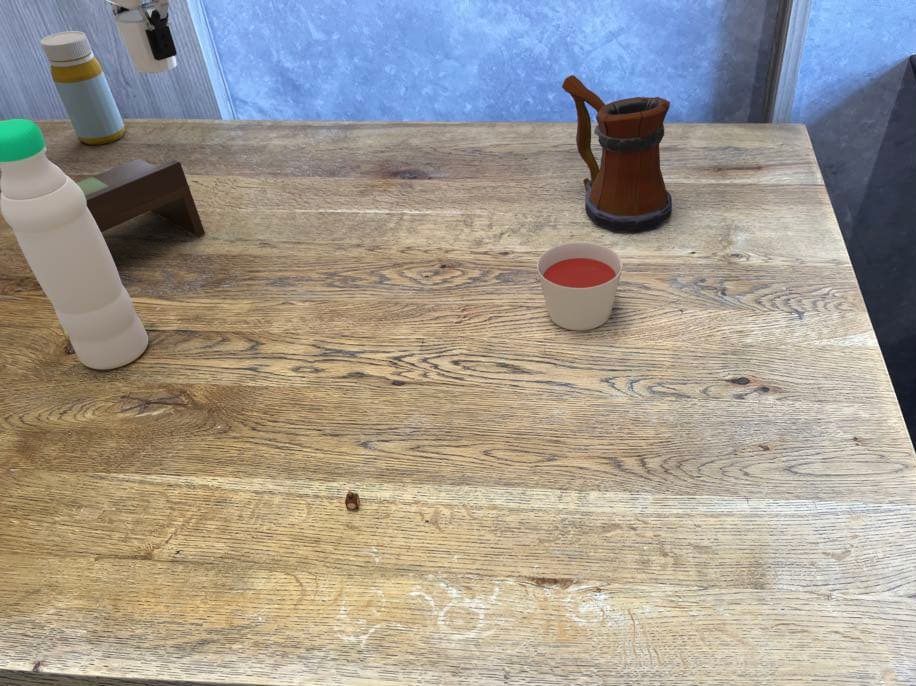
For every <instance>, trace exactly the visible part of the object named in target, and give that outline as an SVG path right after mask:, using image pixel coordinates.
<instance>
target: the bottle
mask: <svg viewBox="0 0 916 686" xmlns="http://www.w3.org/2000/svg"><path fill="white" fill-rule="evenodd" d="M40 45H41V47H42V50H43V52H44V54H45V57H46V58H47V61H48V63H49V65H50V75H51V78H52V81H53V83H54V85H55V88H56V90H57V93H58V94H59V98H60V100H61V102H62V105H63V106H64V109H65V112H66V113H67V116H68V118H69V120H70V123H71V125H72V127H73V129H74V132H75V134H76V136H77V138H78V140H79V141H81V142H82V143H84V144H86V145H90V146H100V145H106V144H109V143H113V142H115V141H117V140H119V139H121V138H122V137H123V136H124V133H125V131H126V127H125V124H124V122H123V119H122V116H121V113H120V111H119V108H118V106H117V104H116V101H115V98H114V96H113V93H112V90H111V88H110V85H109V82H108V80H107V77H106V74H105V73H104V70H103V68H102V65H101V64H100V62H99V61H98V60H97V58H95V55H94V52H93V50H92V47H91V44H90V41H89V40H88V37H87V35H86V33H84V32H83V31H78V30H69V31H61V32H57V33H52V34H49V35H47V36H45V37H43V38H42V39H41V40H40Z"/></svg>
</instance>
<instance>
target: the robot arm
mask: <svg viewBox="0 0 916 686" xmlns="http://www.w3.org/2000/svg"><path fill="white" fill-rule="evenodd" d="M105 1H106V2H108V3H109V4H110V5H111V9H112V10H111V11H112V14H113V17H115V16H116V15H117V14H119V13H122V12H124V11H128V10H136V9H138V10H139V12H140V14H141V16H142V18H143V20H144V22H145V24H146V26H147V28H148V29H147V30H145V32H146V35H147V38H148V41H149V44H150V47H151V51H152V54H153V57H154V59H155V60H158V61H159V60H162V59H166V58H169V57H172V56H175V57H176V56H177V49H176V46H175V42H174V39H173V35H172V32H171V29H170V24H171V23H170V19H169V7H170V2H169V0H149V2H144V0H105ZM152 8H155V10H153V11H152V14H151V18H150V16H149V14H148V12H147V10H148V9H152Z"/></svg>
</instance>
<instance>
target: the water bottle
mask: <svg viewBox="0 0 916 686" xmlns="http://www.w3.org/2000/svg"><path fill="white" fill-rule="evenodd" d="M47 149H48V148H47V146H46V140H45V137H44V135H43V133H42V130H41V129H40V127H39V125H38V124H36V123H35V122H34V121H33V120H30V119H25V118H12V119H8V120H7V119H5V120H0V171H1V176H0V191H1V192H0V211H1V215H2V217H3V219H4V220H5V222H6V223H7V225H9V226H10V227H11V228H12V230H13V233H14V236H15V238H16V240H17V241H16V242H17V243H18V245H19V247H20V250H21V251H22V254H23V256H24V257H25V260H26V262H27V263H28V265H29V267H30V269H31V271H32V273H33V275H34V277H35V279H36V280H37V282H38V284H39V286H40V287H41V289H42V290H43V291H42V292H44V294H45V296H46V298H47V299H48V300H49V301H50V303H51V305H52V306H53V308H54V312H55V315H56V318H57V320H58V322H59V324H60V325H61V327H62V329H63V330H64V331H65V333H66V334H67V335H68V337H69V340H70V343H71V346H72V348H73V351H74V352H75V354H76V356H77V358H78V360H79V361H80V363H82V365H84V366H85V367H87V368H90V369H94V370H101V371H102V370H113V369H117V368H118V369H119V368H121V367H123V366H126V365H128V364H130V363H133V362H134V361H136V360H137V359H138V358H139V357H140V356H141V355H142V354H143V353H145V351H146V350H147V347H148V344H149V336H148V335H149V334H148V332H147V331H146V328H145V326H144V324H143V322H142V320H141V319H140V317H139V316H138V314H137V313H136V310H135V306H134V302H133V300H132V298H131V296H130V294H129V292H128V290H127V288H125V286H124V285H123V284H122V283H123V282H122V280H121V277H120V274H119V271H118V268H117V265H116V263H115V260H114V258H113V256H112V254H111V252H110V249H109V247H108V244H107V242H106V241H105V238H104V235H103V233H102V232H100V230H99V227H98V226H97V224H96V222H95V220H94V218H93V216H92V214H91V213H90V211H89V209H88V208H87V202H86V198H85V195H84V193H83V191H82V190H81V188H80V187H79V186H78V185H77V184H76V183H77V182H75V181H74V180H73V179H72V178H71V177H70V176H68V175H67V174H66V173H64V171H63V170H62V169H61V168H60V167H59V166H57V165H56V164H54V162H52V161H51V160H49V159H48V157H47V154H46V153H47V151H48V150H47Z"/></svg>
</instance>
